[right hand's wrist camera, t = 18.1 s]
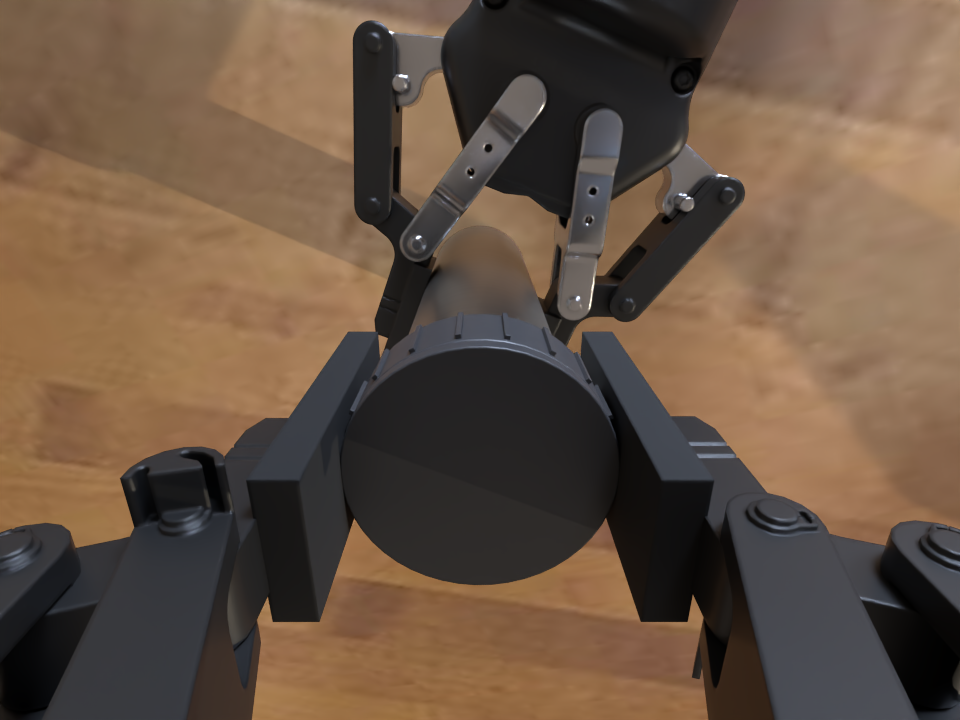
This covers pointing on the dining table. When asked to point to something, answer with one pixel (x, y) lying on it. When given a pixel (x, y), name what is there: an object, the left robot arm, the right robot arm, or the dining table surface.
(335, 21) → the dining table surface
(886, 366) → the dining table surface
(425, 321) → the bottle
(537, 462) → the lid
